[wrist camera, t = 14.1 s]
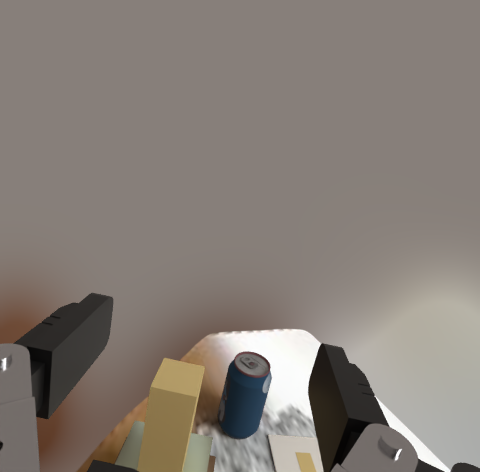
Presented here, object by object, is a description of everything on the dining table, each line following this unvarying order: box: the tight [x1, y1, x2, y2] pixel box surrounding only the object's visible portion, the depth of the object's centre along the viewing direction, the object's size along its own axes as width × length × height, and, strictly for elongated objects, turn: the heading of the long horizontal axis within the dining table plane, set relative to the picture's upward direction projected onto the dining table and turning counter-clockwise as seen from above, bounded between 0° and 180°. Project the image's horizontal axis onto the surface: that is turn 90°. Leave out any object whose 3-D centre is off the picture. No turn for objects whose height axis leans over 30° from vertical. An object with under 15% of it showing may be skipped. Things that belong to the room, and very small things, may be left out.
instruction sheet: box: [268, 435, 324, 472], centre depth 48 cm, size 16×11×1 cm
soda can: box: [218, 352, 272, 439], centre depth 52 cm, size 7×7×12 cm
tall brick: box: [137, 358, 205, 472], centre depth 34 cm, size 4×4×12 cm
